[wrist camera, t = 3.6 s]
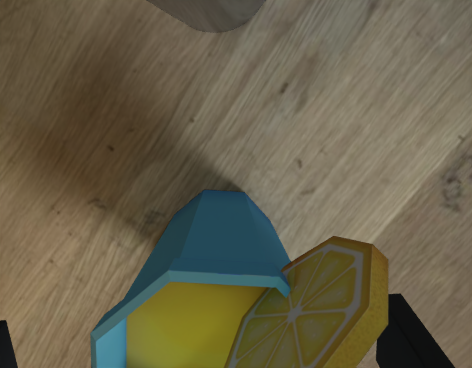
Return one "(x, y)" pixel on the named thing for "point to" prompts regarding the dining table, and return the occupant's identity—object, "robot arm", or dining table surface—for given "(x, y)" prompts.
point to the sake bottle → (211, 13)
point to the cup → (244, 297)
